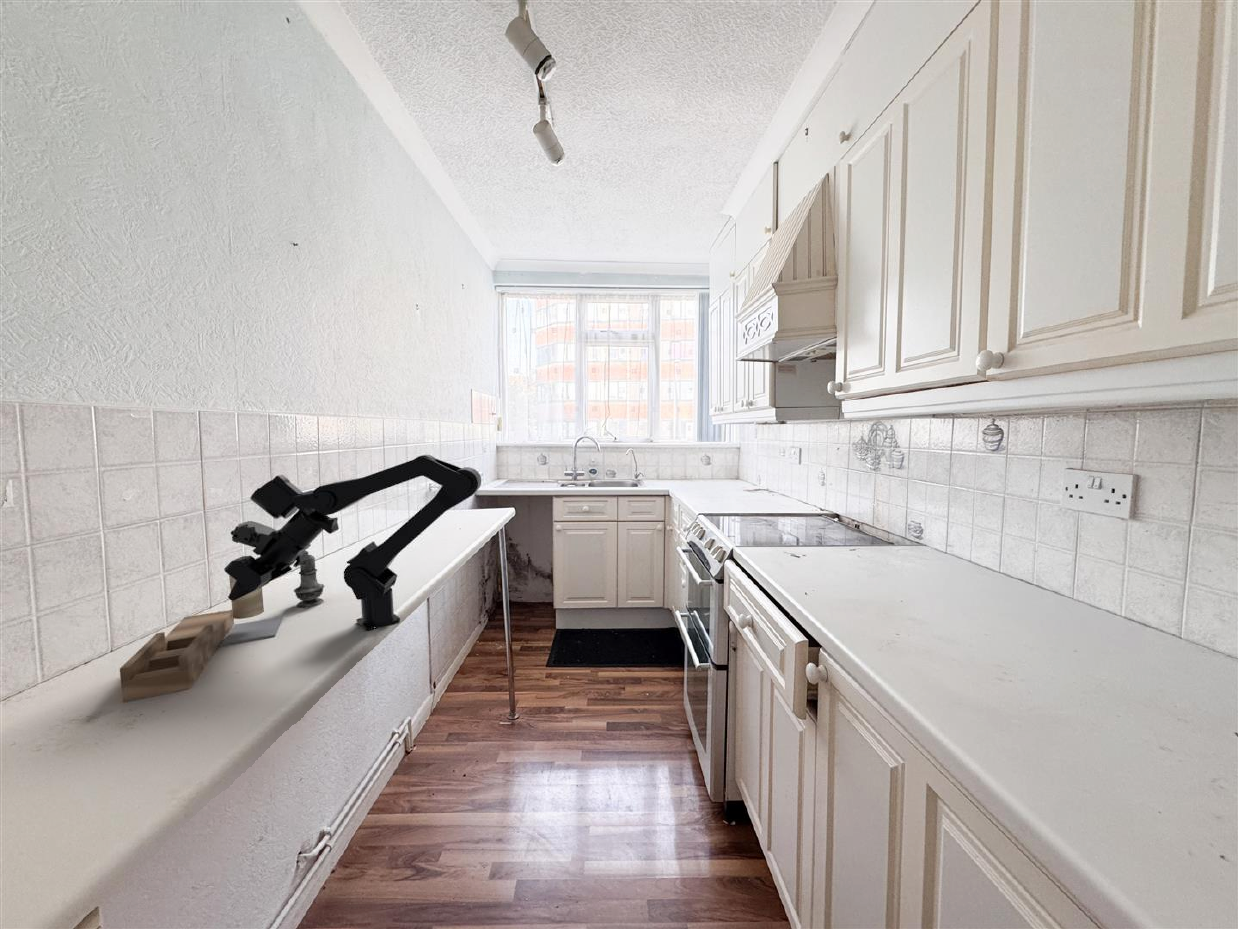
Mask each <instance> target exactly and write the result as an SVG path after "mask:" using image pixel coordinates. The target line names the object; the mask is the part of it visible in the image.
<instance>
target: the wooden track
mask: <svg viewBox="0 0 1238 929" xmlns="http://www.w3.org/2000/svg"><path fill="white" fill-rule="evenodd" d="M234 625H235V619H234V618H233V613H232V609H230V610H223V611H218V612H211V613H209V612H208V613H203V614H198V615H197V614H196V615H190V616H184V617H183V618H182V620H180V622H179V623H177V624H176V626H174V627H173V628H172V629H171V631H169V633H167V635H166V634H165V631H163V632H156V633H155V634H154V635H153V636H152V637H151V638H150V639H149V640H148V641H147V642H145V644H144V645H143V646H142V647H141V648H140V649H138V651H137V652H135V654H134V655H132V656H131V657H130V658H129V659H128V660H127V661H126V662H125V663H124V664H123V665H122V666H121V667H120V668H119V676H120V685H121V695H122V696H121V697H122V703H127V702H130V701H136V700H142V699H145V698H150V697H151V698H152V697H155V696H161V695H165V694H170V693H174V692H175V693H176V692H179V691H185V690H190V689H191V687H192V686H193V685H194V683H195V682H196V680H197V679H198V678H199V676H200V674H201V673H202V672H203V671H204V669H205V667H206V666H207V665H208V663H209V661H210V660H212V657H213V656H214V655H215V653H216V652H217V651H218V648H219V647H220V646H221V645H222V642H223V641H224V640H225V638H226V637H227V635H228V634H229V632H230V631H231V629H232V628H233V626H234ZM160 694H161V695H160Z"/></svg>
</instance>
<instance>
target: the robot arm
mask: <svg viewBox="0 0 1238 929" xmlns="http://www.w3.org/2000/svg"><path fill="white" fill-rule="evenodd" d="M419 477H424V478H426V479H429V480H431V481H432V482H434V483H436V484H437V485H440V486H441V487H440V488H439V490H438V491H437V493H436V494H435V495H434V497H433V498H432V499H431V500H430V501H428V502H427V503H426V504H425V505H424V506H423V507H422V508H420V510H418V511H417V512H416V513H415V514H414V515H413V516H411V518H409V519H408V520H407V521H406V522H404V524H403V525H401V526H400V527H399V528H398V529H397V530H396V531H395V532H394V533H393V534H391V535H390V536H389V537H388V538H387V539H386V540H384V541H383V542H382V543H380V544H378V545H377V544H376V542H375V541H371V542H370V543H369V544H367V545H365V546H363V548H362V549H360V551H359V552H358V554H356V555H354V556H353V557H352V558H350V559H349V560H347V561H346V564H349V565H347V566H346V567H345V568H344V570H343V580H344V583H345V584H346V586H348V588H350V589H351V591H352V592H353V594H354V596H355V599H356V600H360V602H361V603H360V607H361V617H360V618H357V619H355V621H356V623H357V624H358V625H359V626H360V627H361V628H363V629H364V630H365V631H368V630H367V629H370V630H372V629H371V628H373V629H375V628H374V627H377V628H379V627H383V626H387V625H390V624H395V623H397V622H400V621H401V617H399V616H398V615H397V614H395V612H394V596H393V595H394V594H393V588H392V587H393V586H395V584H396V582H397V578H398V574H397V573H395V572H394V570H392V569H390V568H389V566H390V565H391V564H392V563H393V562H394V560H395V559H396V557H397V556H398V555H399V554H400V552H402V551H403V550H404V549H405V548H406V547H408V545H410V544H411V543H412V542H413V541H414V540H415V539H416V538H417V537H419V535H421V534H423V533H424V532H425V531H426V530H427V529H428V528H429V527H430V526H431V525H432V524H433V523H435V521H437V520H438V519H439V518H440V517H441V516H442V515H444V513H446V512H447V511H449V510H450V509H452V508H454V507H455V506H458V505H459V504H461V503H462V502H464V501H465V500H468V499H469V498H470V497H472V496H473V495H475V493H476V492H477V491H478V490H479V489H480V487H481V485H482V476H481V474H480V473H479V471H478V470H477V469H475V468H473V467H470V466H469V467H467V466H465V467H460V466H458V465H455V464H452V463H449V462H447V461H443V460H442V459H441V460H440V459H438V458H436V457H435V456H433V455H431V454H423V455H419V456H416V458H414V459H411V460H408V461H405V462H402V463H400V464H397V465H394V466H392V467H389V468H386V469H383V470H380V471H378V472H374V473H371V474H369V475H365V476H363V477H359V478H352V479H347V480H341V481H336V482H335V481H334V482H331V483H327V484H324V485H320V486H318V487H315V489H314V490H308V491H304V492H303V491H302V490H301V489H299V488H298V487H297V486H296V485H294V484H293V483H292V482H291V481H290V480H289V479H288V477H286V476H285V475H284V474H279V475H276V476H274V477H273V479H270V480H269V481H268V482H266V483H265V484H263V485H262V486H261V487H258V488H257V489H255V491H254V492H253V493H252V494H251V496H250V501H252V502H253V503H254V504H255V505H256V506H259V508H261V509H262V510H263V511H265V512H266V513H267V514H268V515H269V516H271V517H272V518H273V519H275V520H278V519H280V518H283V519H285V520H286V519H288V518H289V520H288V521H287V522H286V523H285V524H283V526H282V527H281V528H279V529H275V528H273V527H271V526H268V525H265V524H262V523H260V522H257V521H253V520H252V521H251V520H249V521H244V522H241V523H239V524H238V525H236V526H235V528H234V530H231V531H230V535H231V541H232V542H234V543H237V544H238V543H239V544H243V545H245V546H248V547H251V548H254V549H252V553H254V554H256V555H257V556H259V557H257V558H255V557H254V556H252V555H244V556H243V555H242V556H241V557H238V558H235V559H233V560H231V561H230V562H229V563H228V564H227V565H226V566H225V568H223V569H224V572H225V573H226V574H227V575H228V576H231V577H232V578H234V579H235V580H236V582H235V584H234V586H233V588H232V590H230V593H229V594H228V596H227V598H228V600H230V602H231V601H234V600H236V599H238V598H240V597H242V596H244V595H246V594H248V593H251V592H253V591H255V590H257V589H259V588H261V587H262V588H263V587H264V586H266V585H268V584H269V583H270V582H272V581H274V580H276V579H278V578H280V577H282V576H284V575H286V574H288V573H289V572H291V571H292V570H293V568H292V565H293V567H294V568H297V567H300V565H301V564H302V563H303V562H304V561H305V560H306V559H307V552H308V551H307V550H308V549H309V548H310V547H311V546H312V544H311V543H312V542H313V541H314V540H315V539H316V538H317V537H318V536H319V535H320V534H321V533H322V532H323V531H325V532H326V533H327V534H330V535H331V534H333V533H335V532H336V531H339V529H340V527H339V523H338V521H339V520H338V517H330V515H334V514H335V513H338V512H340V511H343V510H345V509H348V508H349V507H351V506H352V505H354V504H356V503H358V502H360V501H362V500H363V499H365V498H367V497H368V496H370V495H373V494H374V493H378V492H381V491H383V490H385V489H386V490H387V489H388V488H391V487H394V486H398V485H399V484H403V483H405V482H408V481H411V480H415V479H416V478H419ZM292 515H293V516H292Z"/></svg>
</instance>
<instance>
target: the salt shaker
mask: <svg viewBox="0 0 1238 929" xmlns="http://www.w3.org/2000/svg"><path fill="white" fill-rule="evenodd" d="M299 567H300V569H299V570H300V571H299V572H298V574H299V575H300V576H299V577H300V585H299V586H298V587H296V588H294V589H293V593H295V597H296V598H297V599H298V600H300V601H299V602H298V603H296V608H298V607H299V608H298V609H300V608H301V609H305V608H306V607H307V608H312V607H316V606H319V605H321V603H322V604H323V603H324V602H325V600H324V599H323V598H320V596H321V595H322V594H323V591H324V588H325V584H322V583H319V582H318V579H317V572H318V569H317V568H316V558H315V556H314V555H312V554H310V553H309V551H307V559H306V560H305V561H304V562H303V563H302V564H301V565H299Z"/></svg>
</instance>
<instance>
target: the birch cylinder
mask: <svg viewBox="0 0 1238 929" xmlns="http://www.w3.org/2000/svg"><path fill="white" fill-rule="evenodd" d="M228 578H229V588H230V589H229V591H231V590H232V588H233V586H234V584H235V582H236V580H235V579H234V578H232V577H231V576H230V575H228ZM263 596H264V595H263V587H261V588H259V589H257V590H255V591H253V592H251V593H248V594H246V595H244V596H242V597H240V598H238V599H236V600H234V601H231V600H230V602H231V608H232V609H231V610H232V613H233V618H234V620H236V619H237V620H243V619H249V618H254V617H256V616H259V615H261V614H263V613H264V612H265V608H264V597H263Z"/></svg>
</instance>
